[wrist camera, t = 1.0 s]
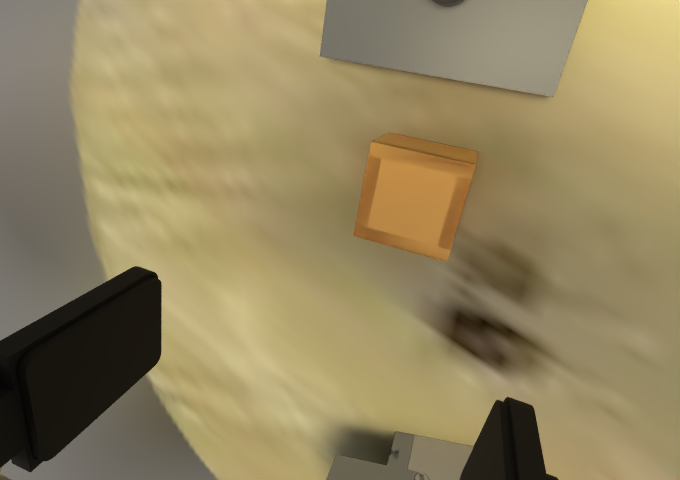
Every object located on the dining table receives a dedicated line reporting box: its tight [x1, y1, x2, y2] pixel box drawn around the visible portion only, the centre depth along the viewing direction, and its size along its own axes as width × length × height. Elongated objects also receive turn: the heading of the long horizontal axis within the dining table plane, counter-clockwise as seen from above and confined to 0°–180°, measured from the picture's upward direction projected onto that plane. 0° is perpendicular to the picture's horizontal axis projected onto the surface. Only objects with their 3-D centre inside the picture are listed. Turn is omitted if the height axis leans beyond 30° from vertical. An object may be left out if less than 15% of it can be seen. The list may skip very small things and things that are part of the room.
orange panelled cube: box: [354, 133, 478, 262], centre depth 26 cm, size 6×6×5 cm
